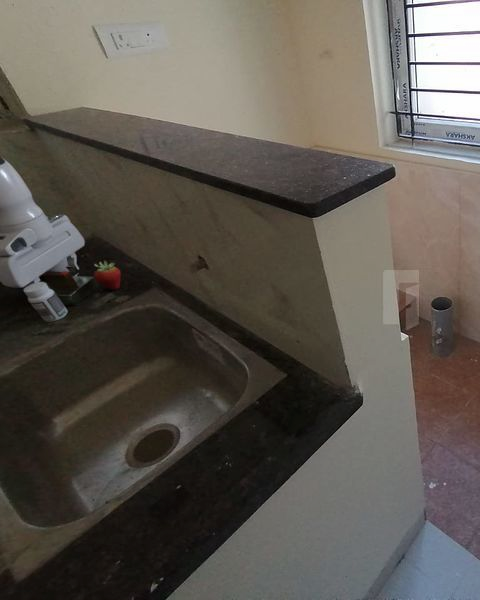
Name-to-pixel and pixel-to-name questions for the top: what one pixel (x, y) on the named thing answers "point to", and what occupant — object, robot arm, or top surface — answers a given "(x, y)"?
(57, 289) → the dial panel
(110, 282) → the fruit
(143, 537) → the top surface
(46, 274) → the dark red block
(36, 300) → the pill bottle
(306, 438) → the top surface
